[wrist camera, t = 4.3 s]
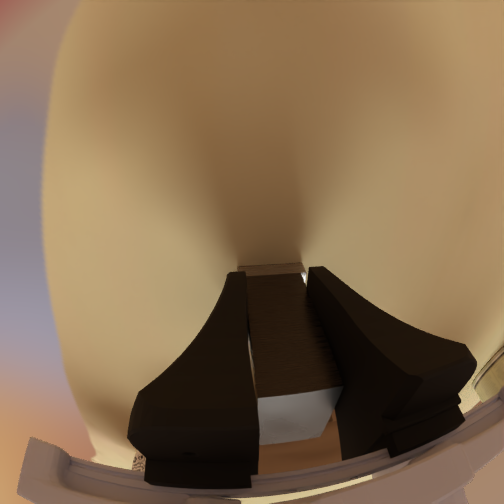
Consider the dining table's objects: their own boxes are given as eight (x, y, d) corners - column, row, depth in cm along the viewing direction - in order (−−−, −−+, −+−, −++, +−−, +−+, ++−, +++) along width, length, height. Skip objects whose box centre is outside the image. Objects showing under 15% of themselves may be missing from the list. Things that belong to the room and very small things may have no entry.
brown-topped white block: (237, 266, 13) (248, 398, 7) (302, 262, 13) (352, 384, 7) (246, 418, 20) (253, 490, 14) (282, 414, 20) (295, 486, 15)
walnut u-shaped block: (187, 406, 19) (184, 476, 14) (340, 392, 20) (360, 456, 14) (203, 443, 23) (204, 494, 18) (321, 432, 24) (333, 481, 18)
